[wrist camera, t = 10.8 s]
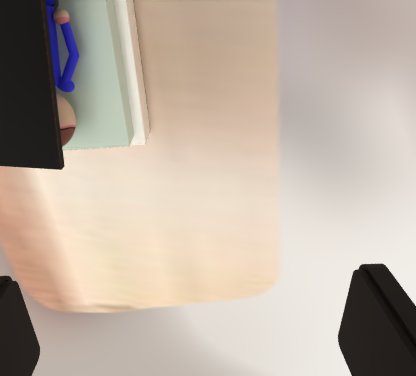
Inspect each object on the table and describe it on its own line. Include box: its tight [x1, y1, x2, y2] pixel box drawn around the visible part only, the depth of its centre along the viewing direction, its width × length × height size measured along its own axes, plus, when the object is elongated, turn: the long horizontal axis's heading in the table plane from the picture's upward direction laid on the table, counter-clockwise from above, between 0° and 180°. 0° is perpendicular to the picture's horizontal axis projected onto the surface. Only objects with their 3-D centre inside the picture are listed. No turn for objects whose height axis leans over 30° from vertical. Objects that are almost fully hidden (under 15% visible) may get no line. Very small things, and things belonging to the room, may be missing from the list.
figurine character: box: [0, 0, 79, 170], centre depth 24 cm, size 7×8×15 cm
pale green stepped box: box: [55, 0, 150, 150], centre depth 30 cm, size 19×13×7 cm
